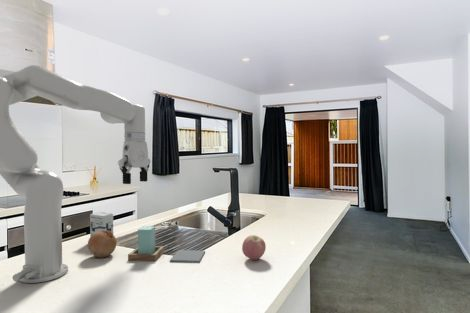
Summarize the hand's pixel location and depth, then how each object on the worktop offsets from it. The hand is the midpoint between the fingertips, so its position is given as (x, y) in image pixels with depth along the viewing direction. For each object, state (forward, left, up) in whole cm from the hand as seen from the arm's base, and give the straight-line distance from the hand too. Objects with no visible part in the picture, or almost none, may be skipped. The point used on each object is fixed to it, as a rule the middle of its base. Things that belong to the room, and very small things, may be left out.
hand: (135, 182), depth 115 cm
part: (-8, -7, -25) cm, 28 cm away
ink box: (+7, +18, -26) cm, 32 cm away
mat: (-8, -22, -25) cm, 35 cm away
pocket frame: (-8, -7, -25) cm, 27 cm away
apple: (-9, -45, -26) cm, 53 cm away
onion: (-9, +9, -26) cm, 28 cm away
